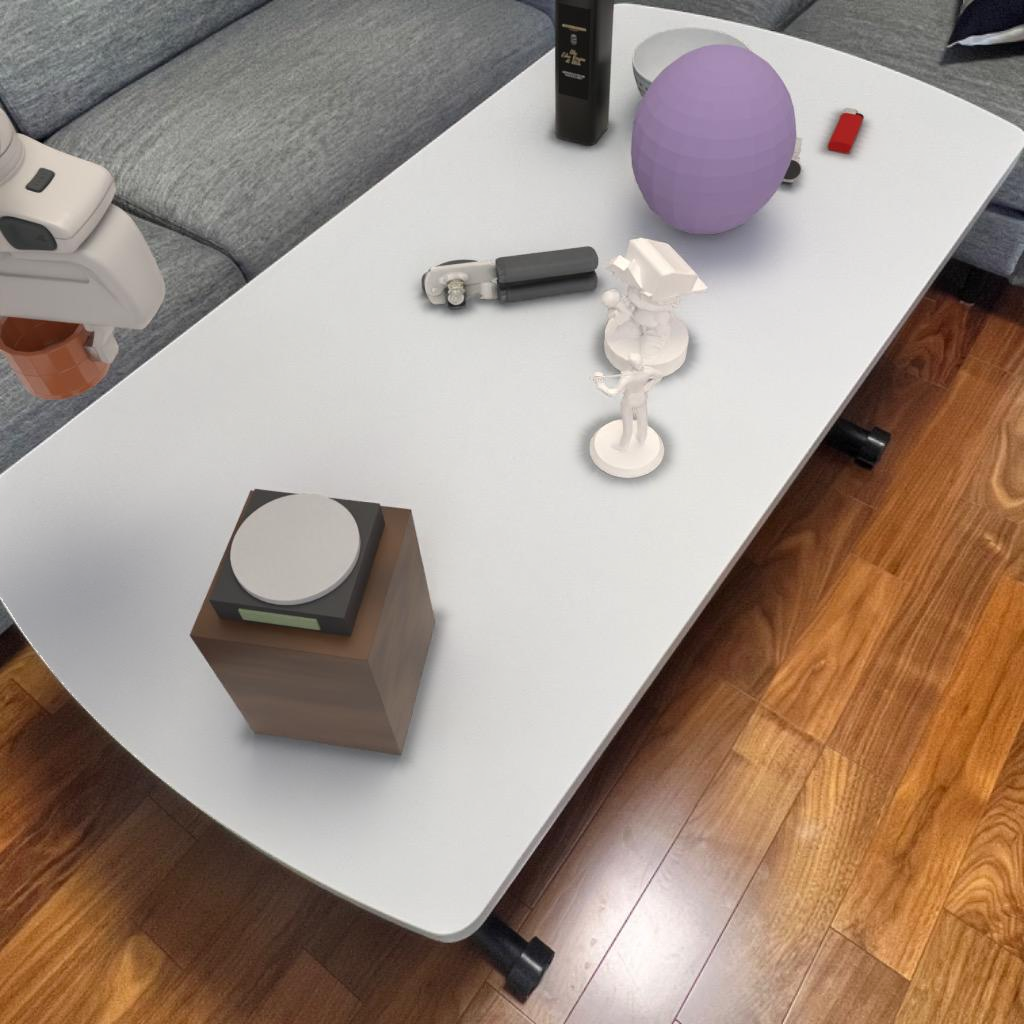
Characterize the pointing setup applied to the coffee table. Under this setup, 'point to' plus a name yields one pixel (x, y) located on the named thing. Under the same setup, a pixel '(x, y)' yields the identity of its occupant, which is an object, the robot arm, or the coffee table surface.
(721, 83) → the purple ovoid
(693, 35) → the chinaware
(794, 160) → the wristwatch
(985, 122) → the coffee table surface
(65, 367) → the bowl
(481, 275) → the can opener
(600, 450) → the figurine
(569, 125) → the black tall square bottle
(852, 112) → the lighter
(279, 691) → the wooden block
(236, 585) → the scale
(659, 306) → the character figurine
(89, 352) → the robot arm
